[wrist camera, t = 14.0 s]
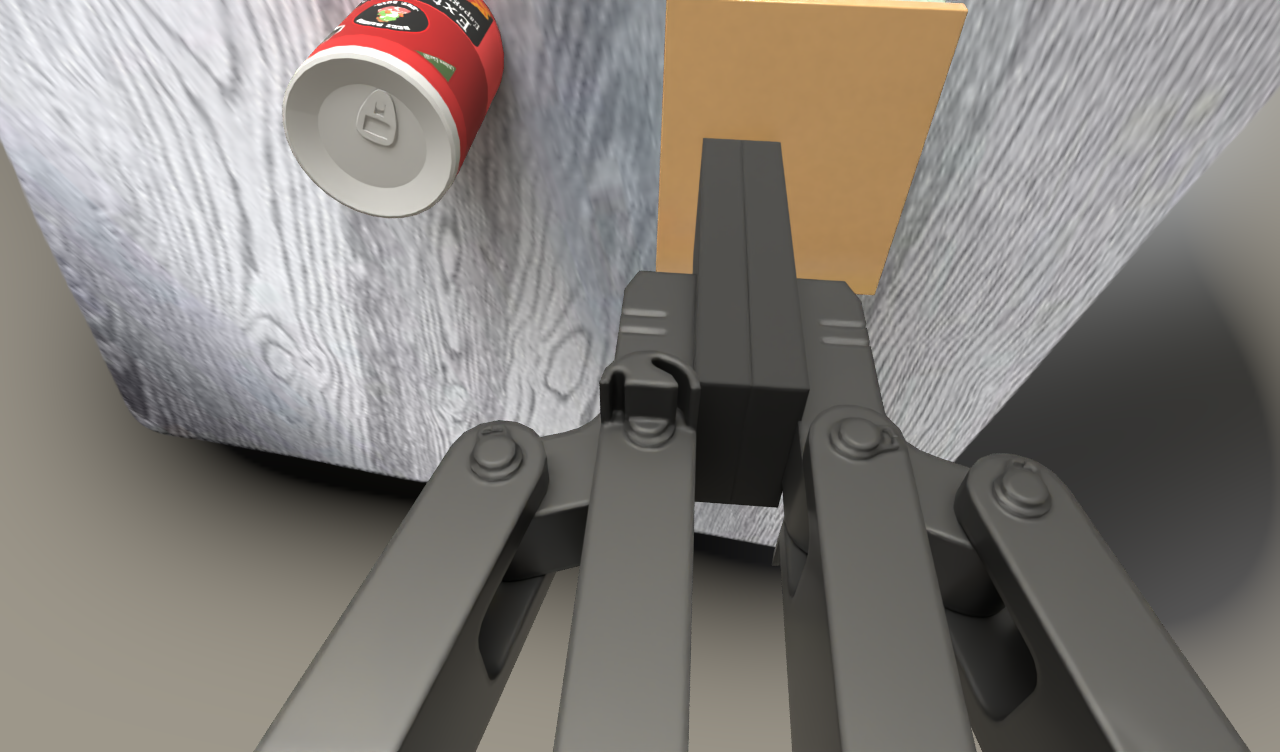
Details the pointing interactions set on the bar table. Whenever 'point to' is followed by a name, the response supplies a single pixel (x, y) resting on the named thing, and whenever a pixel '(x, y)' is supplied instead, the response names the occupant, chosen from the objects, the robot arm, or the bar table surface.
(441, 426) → the bar table surface
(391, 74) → the canned food
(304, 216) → the bar table surface
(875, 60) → the toilet lid
